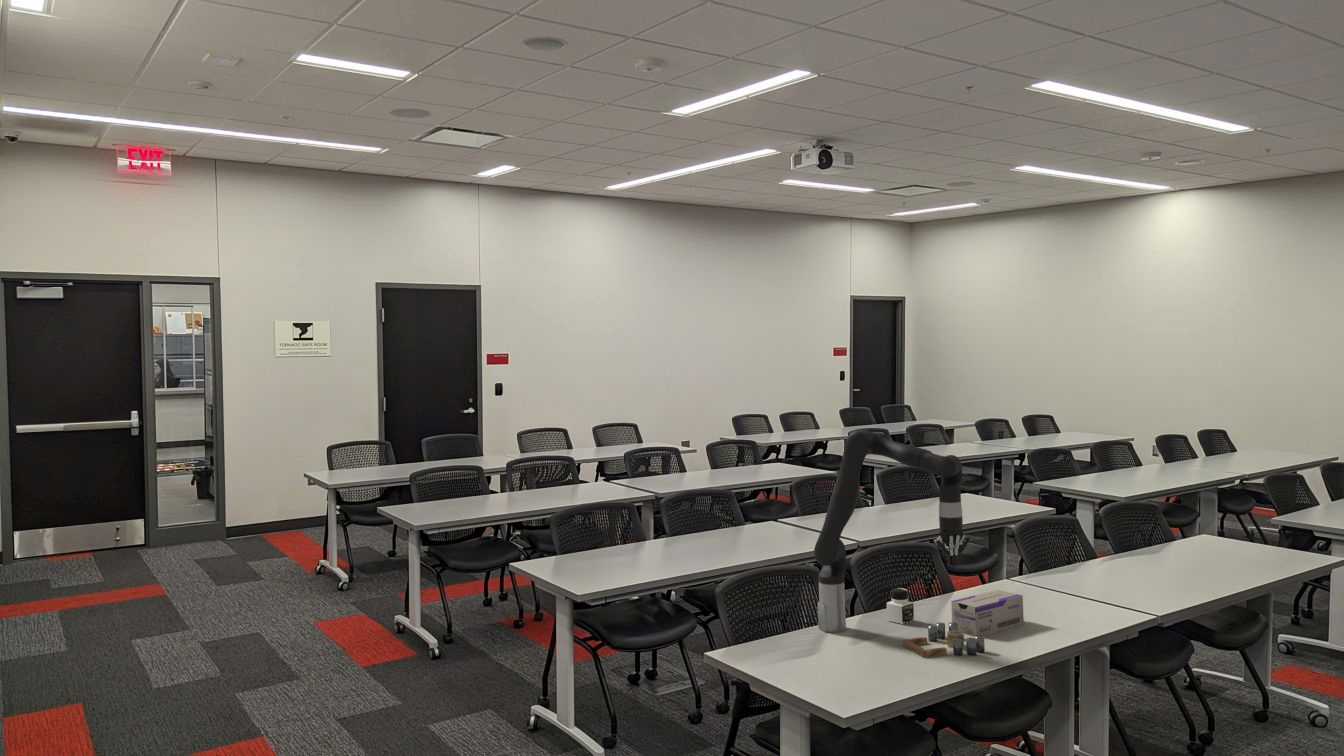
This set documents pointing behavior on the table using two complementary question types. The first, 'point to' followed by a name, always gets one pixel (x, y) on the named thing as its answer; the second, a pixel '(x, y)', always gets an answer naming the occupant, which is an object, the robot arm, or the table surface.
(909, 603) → the medicine bottle
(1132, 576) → the table surface
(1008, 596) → the surgical sutures box
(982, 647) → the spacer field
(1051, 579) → the table surface
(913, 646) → the walnut bay
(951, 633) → the brass nut
